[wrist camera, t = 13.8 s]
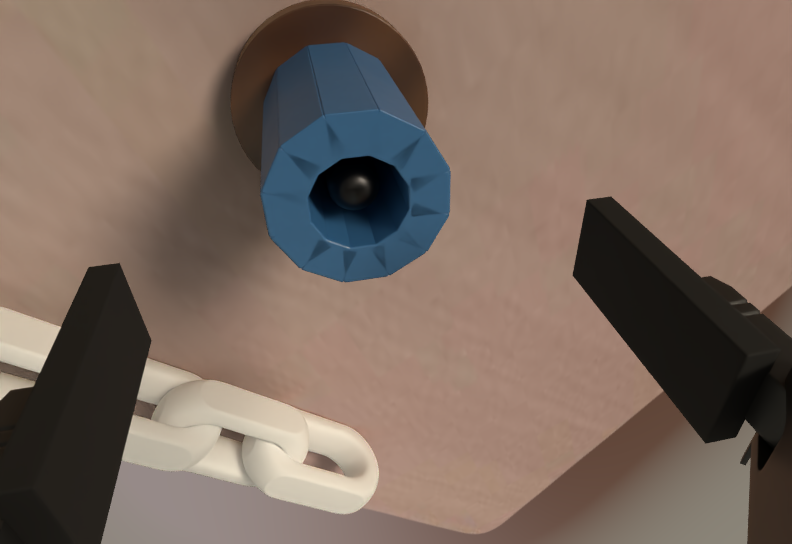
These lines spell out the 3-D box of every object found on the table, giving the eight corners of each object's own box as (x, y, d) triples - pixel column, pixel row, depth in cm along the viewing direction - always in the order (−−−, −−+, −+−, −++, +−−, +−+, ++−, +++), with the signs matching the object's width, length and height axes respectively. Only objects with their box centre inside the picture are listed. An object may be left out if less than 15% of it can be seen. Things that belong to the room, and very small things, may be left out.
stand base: (188, 79, 27) (184, 88, 26) (353, -48, 25) (357, -45, 24) (312, 219, 33) (313, 232, 31) (453, 123, 31) (461, 132, 30)
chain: (386, 421, 44) (401, 488, 39) (343, 465, 46) (352, 534, 41) (-41, 267, 30) (-103, 341, 25) (-72, 341, 32) (-134, 423, 27)
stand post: (304, 107, 27) (318, 191, 20) (337, 84, 27) (363, 160, 19) (328, 138, 28) (350, 229, 21) (359, 116, 28) (393, 200, 20)
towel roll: (235, 98, 26) (220, 189, 18) (349, 12, 25) (387, 68, 17) (320, 198, 30) (338, 308, 22) (422, 128, 29) (481, 218, 21)
